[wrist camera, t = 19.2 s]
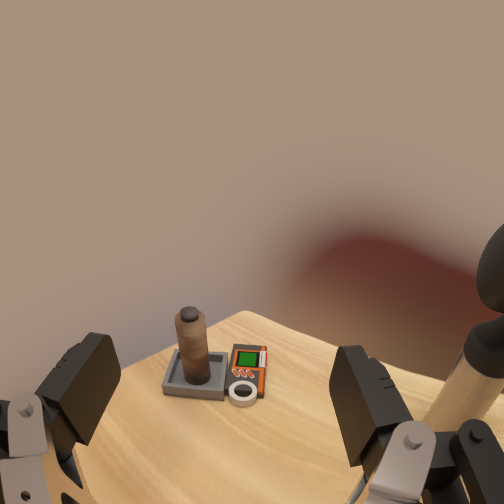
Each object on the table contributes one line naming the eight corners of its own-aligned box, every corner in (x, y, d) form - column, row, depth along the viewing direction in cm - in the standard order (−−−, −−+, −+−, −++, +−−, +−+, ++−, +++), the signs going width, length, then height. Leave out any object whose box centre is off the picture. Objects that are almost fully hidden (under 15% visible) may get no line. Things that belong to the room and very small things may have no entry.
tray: (228, 362, 51) (227, 352, 50) (223, 400, 41) (223, 391, 40) (176, 358, 51) (175, 348, 50) (164, 394, 41) (161, 385, 40)
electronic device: (222, 397, 39) (234, 341, 53) (222, 408, 40) (234, 352, 54) (264, 401, 39) (267, 343, 53) (263, 411, 40) (266, 354, 54)
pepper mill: (212, 368, 48) (206, 304, 43) (208, 386, 43) (200, 320, 38) (187, 366, 48) (178, 302, 43) (182, 383, 43) (169, 318, 38)
